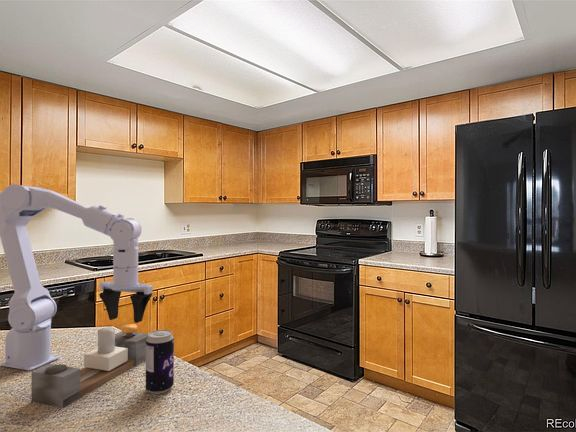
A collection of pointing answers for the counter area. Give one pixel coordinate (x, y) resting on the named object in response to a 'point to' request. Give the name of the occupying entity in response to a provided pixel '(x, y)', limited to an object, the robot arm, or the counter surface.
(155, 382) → the beverage can
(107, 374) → the rail
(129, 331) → the button
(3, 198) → the robot arm
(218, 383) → the counter surface
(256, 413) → the counter surface
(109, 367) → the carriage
